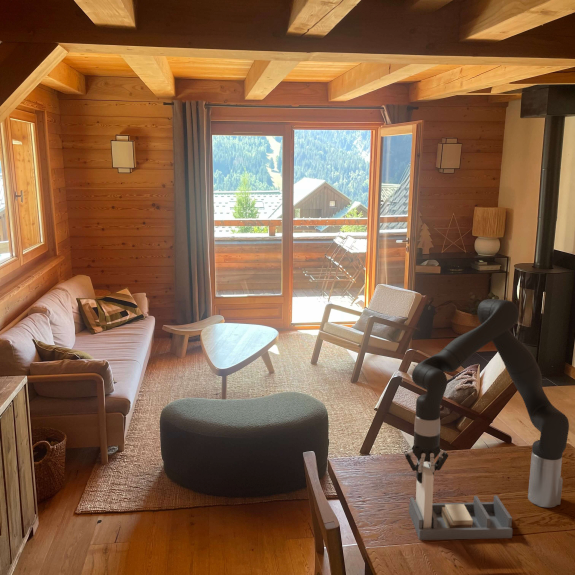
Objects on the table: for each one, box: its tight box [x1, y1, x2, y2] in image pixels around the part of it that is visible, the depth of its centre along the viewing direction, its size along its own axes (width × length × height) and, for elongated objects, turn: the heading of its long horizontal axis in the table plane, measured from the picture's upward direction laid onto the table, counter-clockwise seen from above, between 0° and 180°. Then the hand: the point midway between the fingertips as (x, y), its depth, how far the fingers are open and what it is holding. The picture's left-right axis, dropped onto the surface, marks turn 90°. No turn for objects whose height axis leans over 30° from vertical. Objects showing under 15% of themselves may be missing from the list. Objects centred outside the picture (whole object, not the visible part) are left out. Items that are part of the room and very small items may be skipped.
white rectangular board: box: [415, 461, 435, 529], centre depth 177 cm, size 2×10×20 cm, turn 1°
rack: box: [408, 494, 513, 541], centre depth 179 cm, size 28×14×7 cm, turn 91°
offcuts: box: [441, 504, 473, 528], centre depth 179 cm, size 7×10×4 cm
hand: (424, 481), depth 176 cm, fingers closed on white rectangular board, 2 cm apart
